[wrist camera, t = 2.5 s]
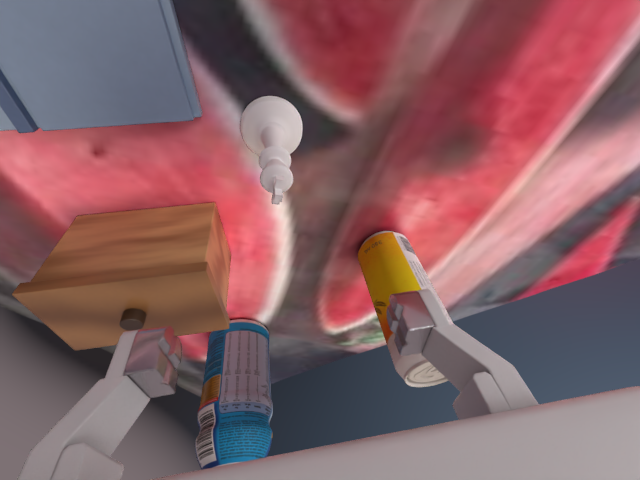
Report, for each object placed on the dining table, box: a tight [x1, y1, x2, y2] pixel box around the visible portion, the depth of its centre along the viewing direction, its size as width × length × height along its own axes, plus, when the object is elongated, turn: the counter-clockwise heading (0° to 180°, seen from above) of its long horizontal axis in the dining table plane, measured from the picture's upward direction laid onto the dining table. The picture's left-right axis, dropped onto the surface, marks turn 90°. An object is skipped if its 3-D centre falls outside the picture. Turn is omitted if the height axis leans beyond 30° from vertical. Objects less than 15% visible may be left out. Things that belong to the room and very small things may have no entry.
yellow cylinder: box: [358, 231, 453, 387], centre depth 30 cm, size 6×6×15 cm
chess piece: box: [240, 96, 303, 204], centre depth 21 cm, size 5×5×10 cm
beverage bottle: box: [195, 319, 273, 470], centre depth 36 cm, size 8×8×20 cm
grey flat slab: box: [0, 0, 203, 133], centre depth 19 cm, size 8×14×1 cm, turn 90°
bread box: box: [12, 202, 231, 350], centre depth 26 cm, size 8×13×10 cm, turn 90°
